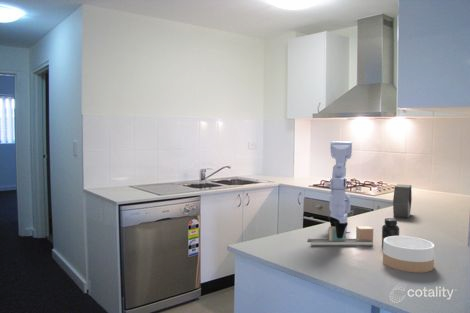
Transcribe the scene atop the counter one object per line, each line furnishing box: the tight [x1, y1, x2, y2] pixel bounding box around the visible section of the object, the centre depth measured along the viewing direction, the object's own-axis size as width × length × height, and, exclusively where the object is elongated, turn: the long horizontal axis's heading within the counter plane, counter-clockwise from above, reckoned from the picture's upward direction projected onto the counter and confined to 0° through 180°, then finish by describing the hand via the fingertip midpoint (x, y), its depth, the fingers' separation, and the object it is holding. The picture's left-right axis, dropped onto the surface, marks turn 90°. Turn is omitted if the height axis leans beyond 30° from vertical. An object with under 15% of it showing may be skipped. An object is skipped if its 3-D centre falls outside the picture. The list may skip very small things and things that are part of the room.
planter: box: [392, 183, 413, 219], centre depth 218 cm, size 17×8×21 cm
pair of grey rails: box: [307, 238, 374, 247], centre depth 165 cm, size 8×26×2 cm, turn 91°
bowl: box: [382, 235, 436, 273], centre depth 140 cm, size 17×17×8 cm
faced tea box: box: [355, 225, 374, 242], centre depth 165 cm, size 4×6×7 cm
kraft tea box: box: [328, 225, 347, 241], centre depth 165 cm, size 4×6×7 cm
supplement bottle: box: [381, 217, 400, 248], centre depth 159 cm, size 7×7×12 cm
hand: (337, 235), depth 165 cm, fingers open, 7 cm apart
